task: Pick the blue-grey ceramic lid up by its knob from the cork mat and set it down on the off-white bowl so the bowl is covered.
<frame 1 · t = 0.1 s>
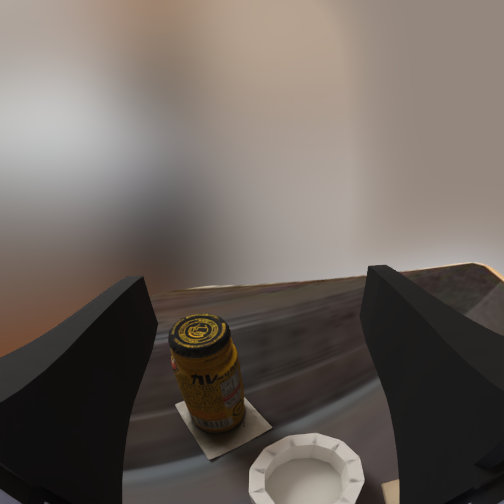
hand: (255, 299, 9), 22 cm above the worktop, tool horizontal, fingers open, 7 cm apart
bowl: (303, 489, 18), on the worktop
condiment: (221, 419, 27), on the worktop
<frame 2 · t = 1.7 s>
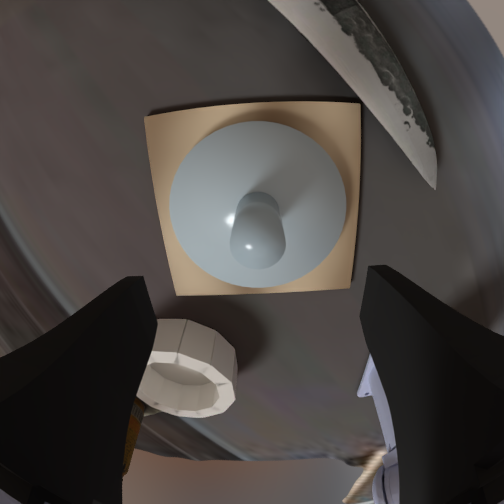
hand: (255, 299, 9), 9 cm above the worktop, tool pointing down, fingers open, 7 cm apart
bowl: (184, 357, 23), on the worktop
lid: (257, 207, 17), resting on mat
condiment: (127, 396, 28), on the worktop
mat: (257, 205, 17), on the worktop
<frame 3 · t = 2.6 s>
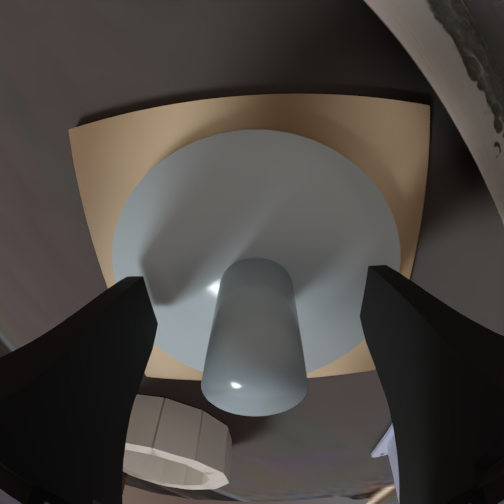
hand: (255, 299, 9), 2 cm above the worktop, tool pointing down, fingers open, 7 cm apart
bowl: (167, 429, 17), on the worktop
lid: (256, 276, 10), resting on mat
mat: (256, 270, 11), on the worktop
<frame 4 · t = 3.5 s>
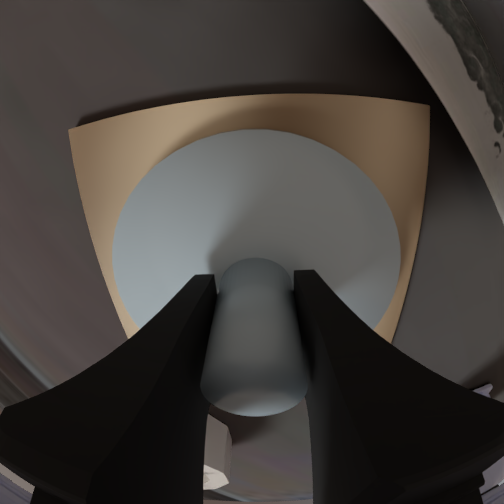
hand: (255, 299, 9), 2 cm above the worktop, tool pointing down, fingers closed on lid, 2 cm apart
bowl: (167, 429, 17), on the worktop
lid: (256, 276, 10), resting on mat, touching gripper
mat: (256, 270, 11), on the worktop
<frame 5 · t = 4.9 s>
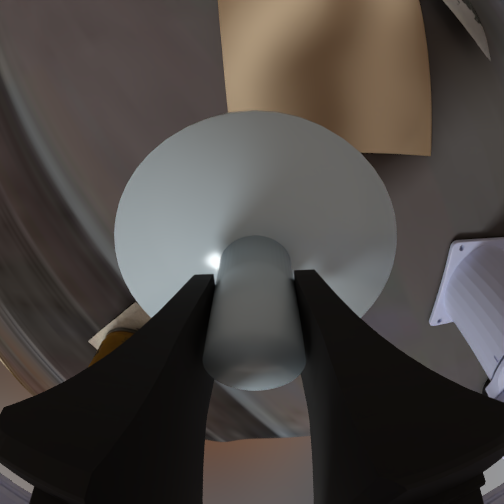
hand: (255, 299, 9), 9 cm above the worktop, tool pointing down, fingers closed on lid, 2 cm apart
lid: (255, 254, 10), point 7 cm above the worktop, touching gripper
condiment: (141, 347, 23), on the worktop
mat: (333, 50, 12), on the worktop
when the fingers open (6 cm above the worktop, at t = 6.3 s): lid stays where it is, resting on bowl.
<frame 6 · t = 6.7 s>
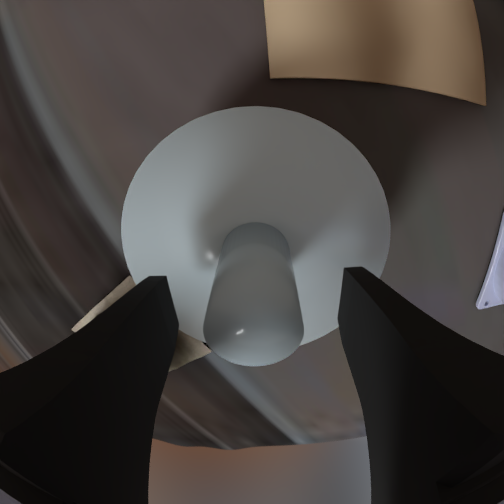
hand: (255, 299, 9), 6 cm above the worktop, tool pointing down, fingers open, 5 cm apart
lid: (255, 243, 11), point 3 cm above the worktop, touching bowl
condiment: (135, 337, 19), on the worktop
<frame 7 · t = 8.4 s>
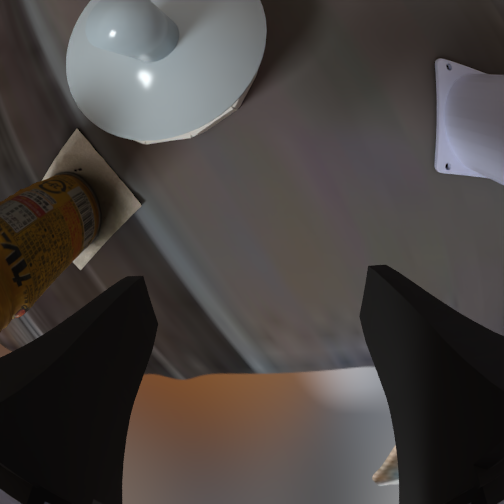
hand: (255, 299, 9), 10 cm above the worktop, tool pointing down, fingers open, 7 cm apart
bowl: (178, 63, 14), on the worktop
lid: (159, 42, 10), point 3 cm above the worktop, touching bowl
condiment: (78, 203, 18), on the worktop
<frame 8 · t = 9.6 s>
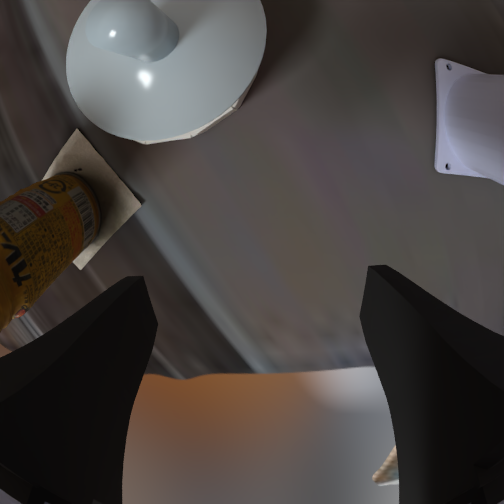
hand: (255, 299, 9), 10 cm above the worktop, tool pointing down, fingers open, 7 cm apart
bowl: (178, 63, 14), on the worktop
lid: (159, 42, 10), point 3 cm above the worktop, touching bowl
condiment: (78, 203, 18), on the worktop
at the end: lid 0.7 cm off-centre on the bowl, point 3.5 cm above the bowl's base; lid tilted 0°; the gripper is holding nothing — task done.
